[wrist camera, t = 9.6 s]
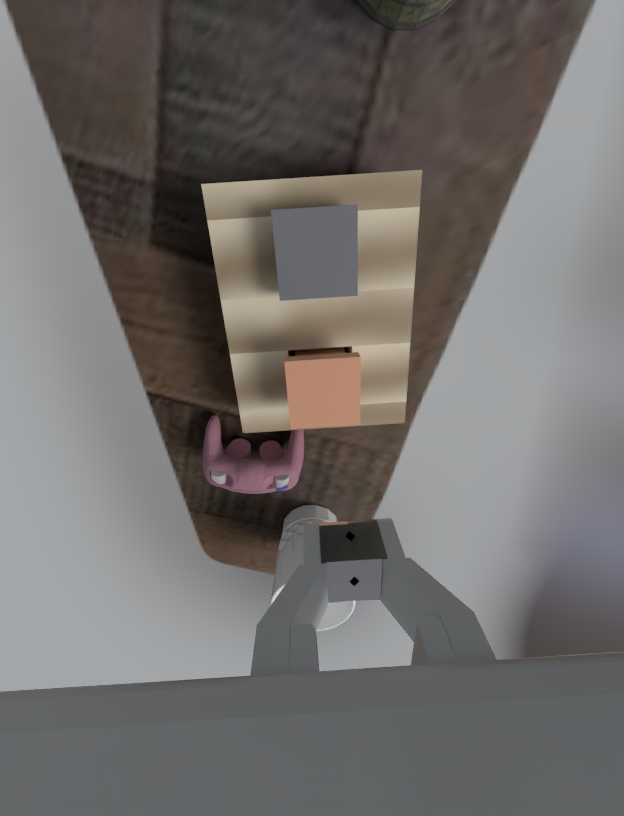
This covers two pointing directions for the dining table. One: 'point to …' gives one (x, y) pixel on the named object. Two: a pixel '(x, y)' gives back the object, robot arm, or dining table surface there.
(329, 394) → the terracotta plug
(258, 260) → the socket block
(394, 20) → the thermos
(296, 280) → the charcoal plug
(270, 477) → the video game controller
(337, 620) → the white cup
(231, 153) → the dining table surface
